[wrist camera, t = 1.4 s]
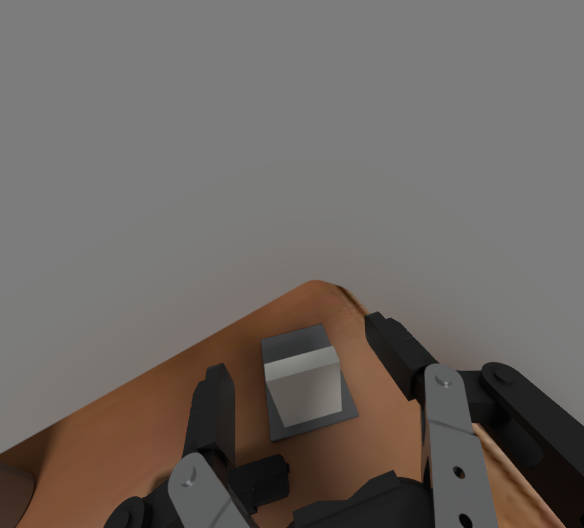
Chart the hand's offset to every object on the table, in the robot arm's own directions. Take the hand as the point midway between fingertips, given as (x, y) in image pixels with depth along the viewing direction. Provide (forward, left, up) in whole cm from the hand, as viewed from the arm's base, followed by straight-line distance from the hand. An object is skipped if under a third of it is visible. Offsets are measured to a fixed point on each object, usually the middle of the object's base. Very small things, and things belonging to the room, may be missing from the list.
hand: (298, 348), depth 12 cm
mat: (-9, +9, -24) cm, 27 cm away
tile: (-4, +4, -24) cm, 25 cm away
